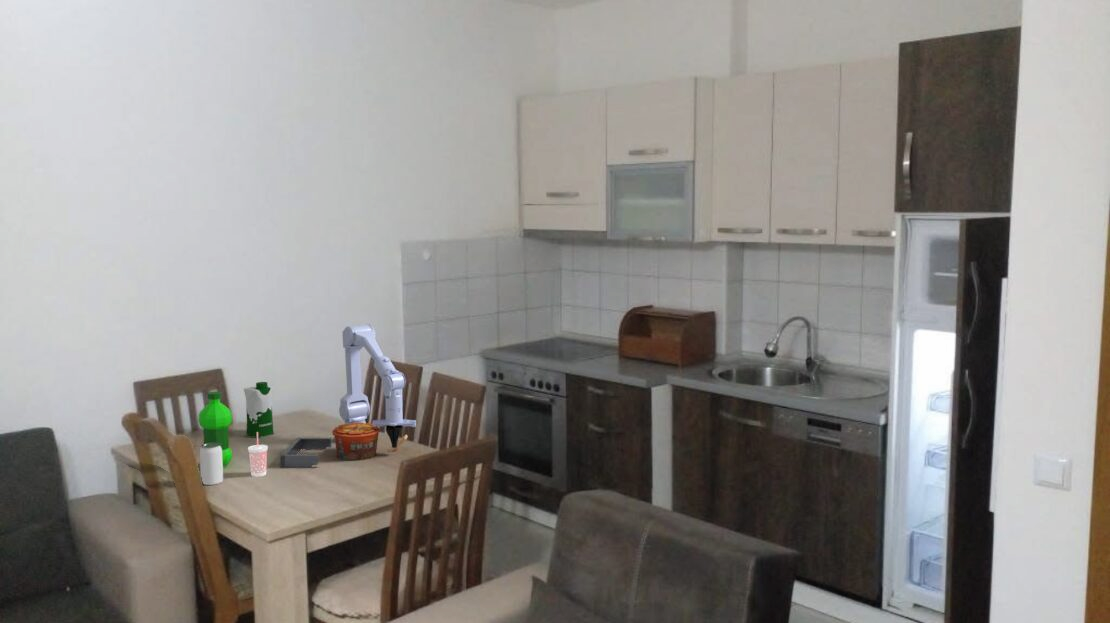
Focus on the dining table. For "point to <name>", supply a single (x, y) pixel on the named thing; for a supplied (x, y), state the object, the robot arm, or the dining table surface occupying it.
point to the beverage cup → (258, 459)
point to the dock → (303, 461)
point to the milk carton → (259, 409)
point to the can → (211, 463)
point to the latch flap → (399, 442)
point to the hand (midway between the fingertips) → (394, 446)
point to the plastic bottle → (216, 424)
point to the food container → (356, 441)
